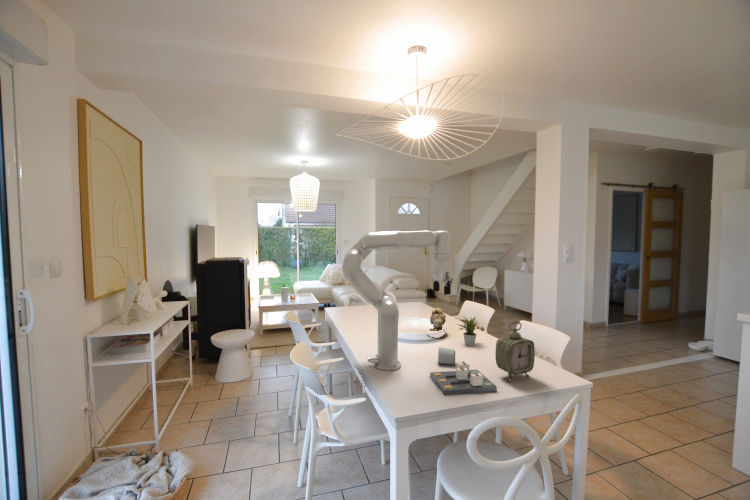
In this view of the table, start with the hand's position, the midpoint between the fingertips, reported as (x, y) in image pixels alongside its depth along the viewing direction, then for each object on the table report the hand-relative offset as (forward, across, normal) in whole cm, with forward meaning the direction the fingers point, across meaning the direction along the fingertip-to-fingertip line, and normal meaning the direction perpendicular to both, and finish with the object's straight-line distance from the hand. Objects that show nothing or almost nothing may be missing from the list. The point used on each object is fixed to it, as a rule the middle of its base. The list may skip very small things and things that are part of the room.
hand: (441, 292), depth 158 cm
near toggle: (+33, +27, -1) cm, 43 cm away
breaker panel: (+35, +21, -3) cm, 41 cm away
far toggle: (+33, +15, +2) cm, 36 cm away
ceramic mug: (+35, -2, +4) cm, 35 cm away
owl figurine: (+35, -44, +23) cm, 61 cm away
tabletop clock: (+36, +23, +22) cm, 48 cm away
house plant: (+36, -22, +32) cm, 52 cm away
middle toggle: (+33, +21, -3) cm, 39 cm away
